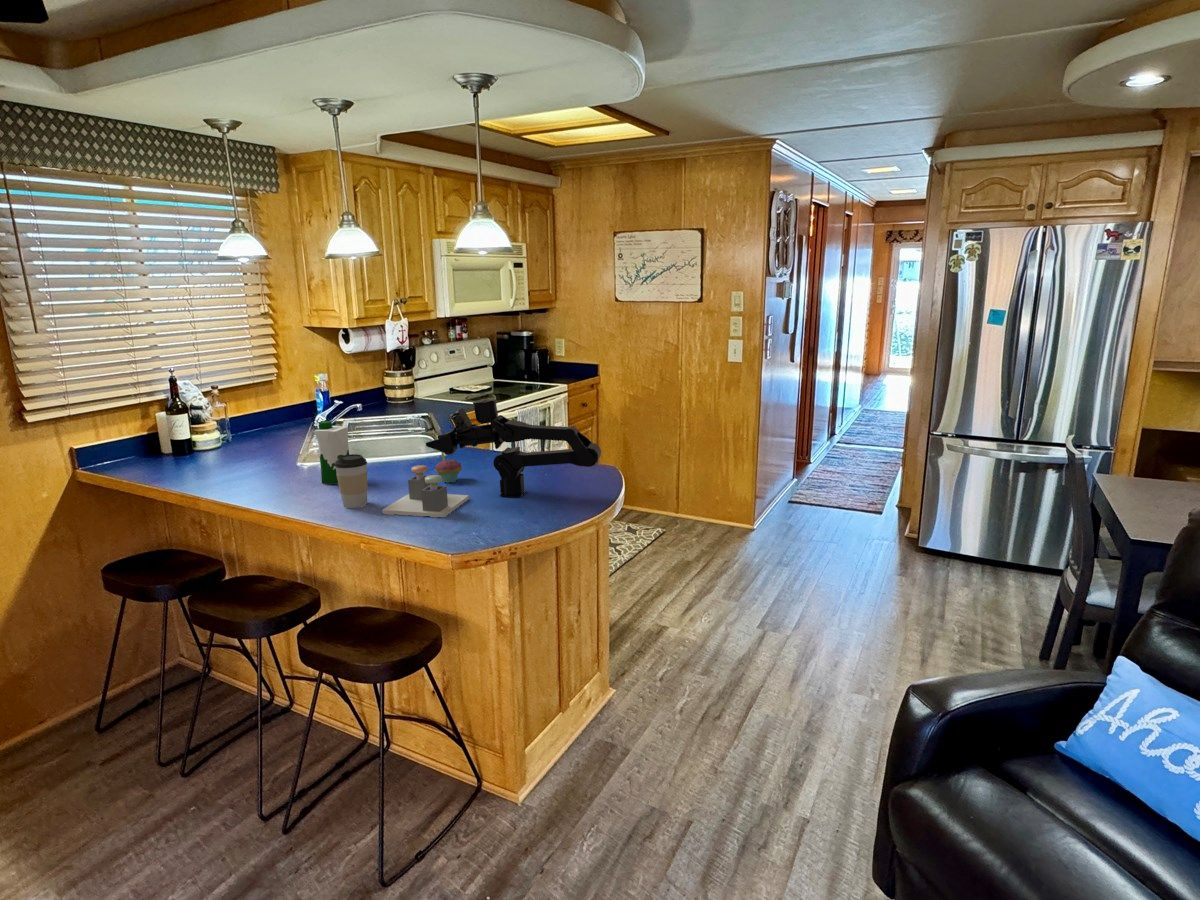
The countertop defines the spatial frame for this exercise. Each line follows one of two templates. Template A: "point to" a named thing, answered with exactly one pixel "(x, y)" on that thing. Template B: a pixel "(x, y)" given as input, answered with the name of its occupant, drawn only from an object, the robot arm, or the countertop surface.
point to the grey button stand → (425, 501)
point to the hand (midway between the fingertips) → (431, 441)
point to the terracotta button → (419, 471)
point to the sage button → (433, 481)
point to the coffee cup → (352, 480)
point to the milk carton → (331, 448)
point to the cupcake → (448, 469)
